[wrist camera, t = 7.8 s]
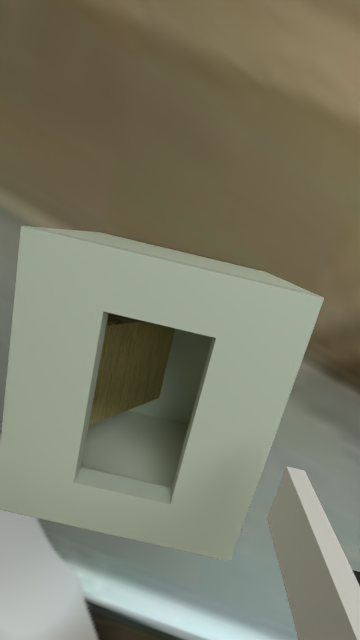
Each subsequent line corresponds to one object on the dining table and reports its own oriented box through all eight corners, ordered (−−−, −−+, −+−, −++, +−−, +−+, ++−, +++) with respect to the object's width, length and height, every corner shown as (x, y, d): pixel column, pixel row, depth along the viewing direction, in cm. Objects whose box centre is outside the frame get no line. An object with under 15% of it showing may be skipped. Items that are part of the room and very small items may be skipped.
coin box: (100, 232, 26) (21, 225, 14) (265, 271, 26) (324, 298, 14) (72, 403, 30) (-6, 508, 18) (216, 436, 30) (230, 561, 18)
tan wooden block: (150, 306, 26) (76, 310, 20) (177, 318, 24) (104, 325, 19) (134, 381, 28) (62, 404, 22) (159, 397, 26) (87, 426, 20)
